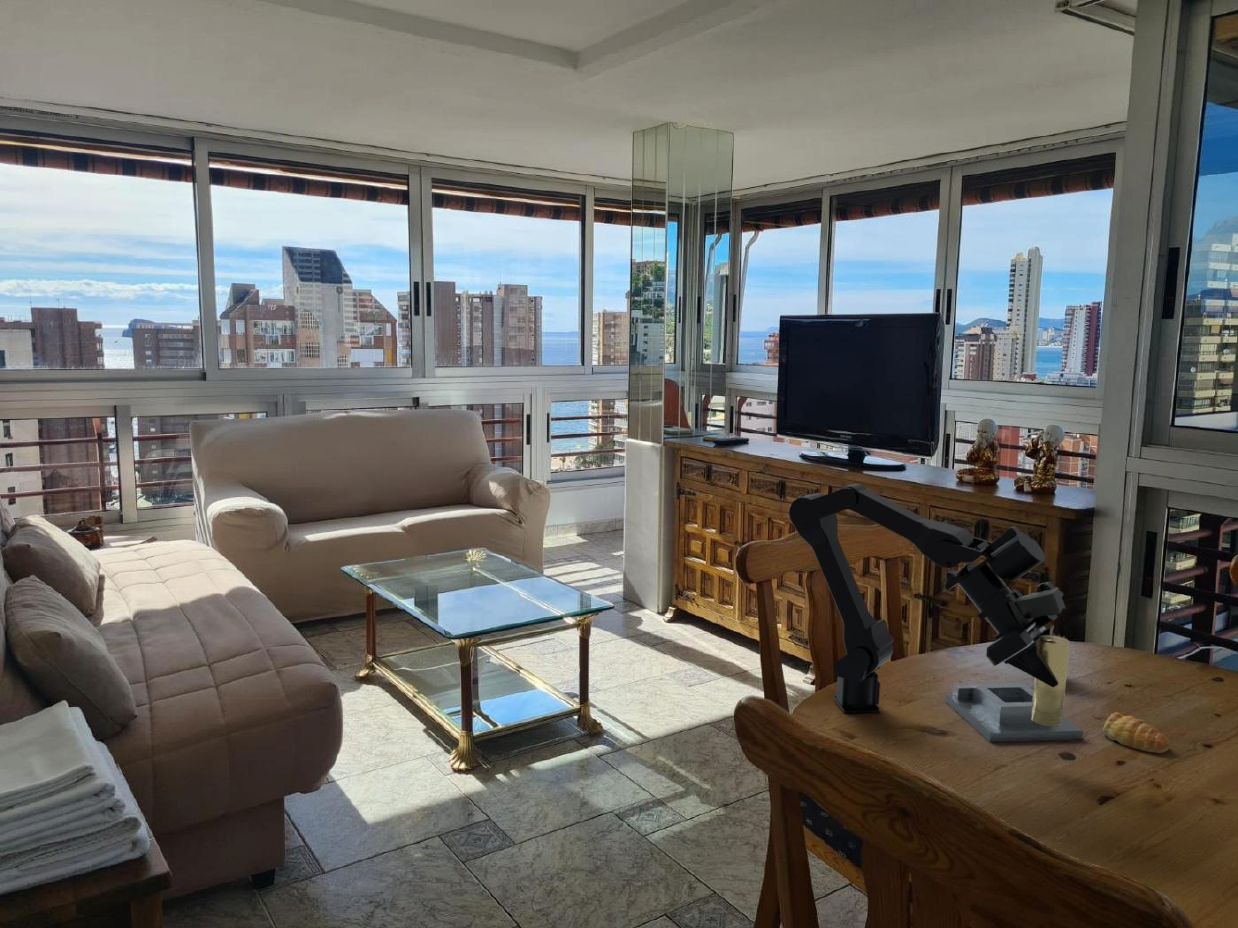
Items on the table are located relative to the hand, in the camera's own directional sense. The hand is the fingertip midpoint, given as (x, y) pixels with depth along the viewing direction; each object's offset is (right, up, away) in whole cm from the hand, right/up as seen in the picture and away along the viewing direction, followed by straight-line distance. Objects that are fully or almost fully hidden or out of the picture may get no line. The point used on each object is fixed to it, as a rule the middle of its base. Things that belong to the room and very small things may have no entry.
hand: (1059, 680), depth 139 cm
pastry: (+17, -13, +11) cm, 24 cm away
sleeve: (-1, -7, +2) cm, 7 cm away
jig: (0, -11, +18) cm, 21 cm away
